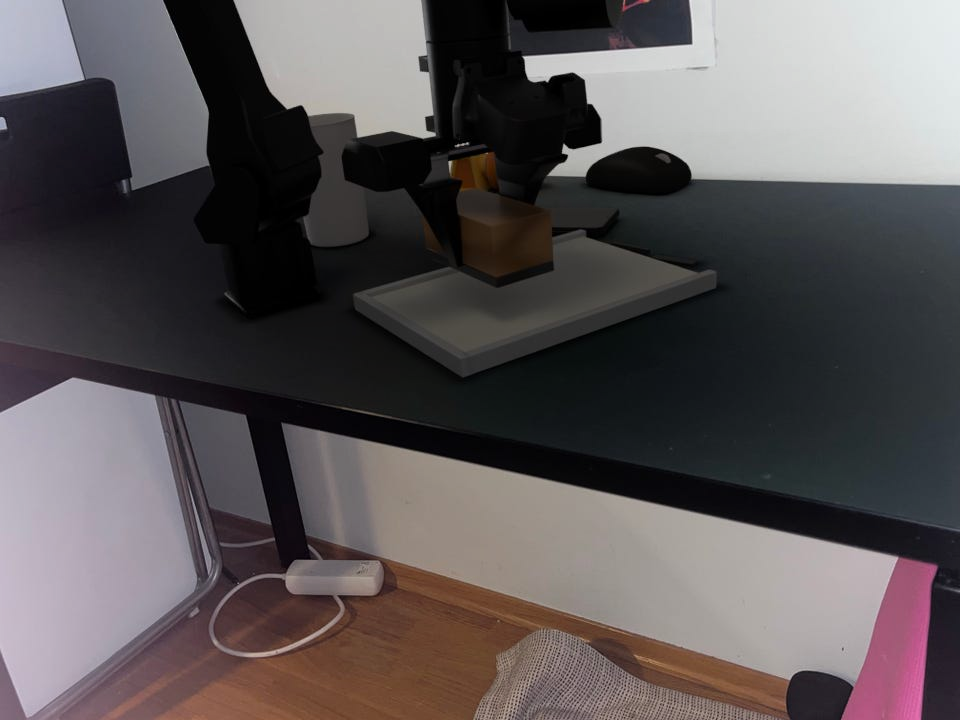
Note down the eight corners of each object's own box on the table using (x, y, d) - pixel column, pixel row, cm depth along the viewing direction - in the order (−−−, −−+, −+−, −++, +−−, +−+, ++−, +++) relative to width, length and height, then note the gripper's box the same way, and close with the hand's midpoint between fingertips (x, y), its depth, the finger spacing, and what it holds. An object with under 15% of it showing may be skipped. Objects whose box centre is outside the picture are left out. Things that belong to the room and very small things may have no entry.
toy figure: (555, 184, 103) (459, 183, 107) (553, 136, 100) (456, 137, 104) (543, 196, 98) (444, 194, 102) (541, 146, 96) (440, 147, 100)
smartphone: (481, 206, 92) (620, 207, 87) (482, 215, 93) (620, 216, 87) (455, 225, 87) (602, 227, 81) (456, 234, 87) (603, 237, 81)
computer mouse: (606, 173, 105) (606, 139, 103) (698, 181, 98) (699, 145, 96) (572, 188, 100) (570, 153, 98) (666, 197, 93) (666, 160, 91)
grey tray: (462, 378, 57) (460, 358, 56) (354, 309, 70) (352, 293, 70) (716, 288, 68) (717, 271, 67) (581, 243, 81) (581, 229, 80)
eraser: (496, 288, 60) (491, 226, 59) (427, 257, 68) (420, 201, 66) (554, 271, 63) (551, 210, 61) (480, 242, 71) (475, 187, 69)
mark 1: (647, 249, 74) (650, 248, 75) (610, 242, 77) (613, 241, 77) (647, 261, 75) (650, 259, 75) (610, 253, 78) (613, 252, 78)
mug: (385, 231, 90) (368, 113, 85) (344, 250, 85) (324, 126, 80) (311, 224, 95) (291, 112, 90) (268, 242, 90) (245, 125, 85)
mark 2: (698, 260, 73) (698, 265, 73) (656, 254, 75) (656, 258, 76) (692, 264, 72) (692, 268, 73) (650, 257, 75) (650, 262, 75)
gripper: (400, 61, 48) (431, 321, 55) (653, 23, 57) (653, 252, 63) (322, 54, 57) (356, 278, 64) (551, 21, 66) (561, 223, 72)
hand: (486, 257), depth 65 cm, fingers closed on eraser, 5 cm apart
